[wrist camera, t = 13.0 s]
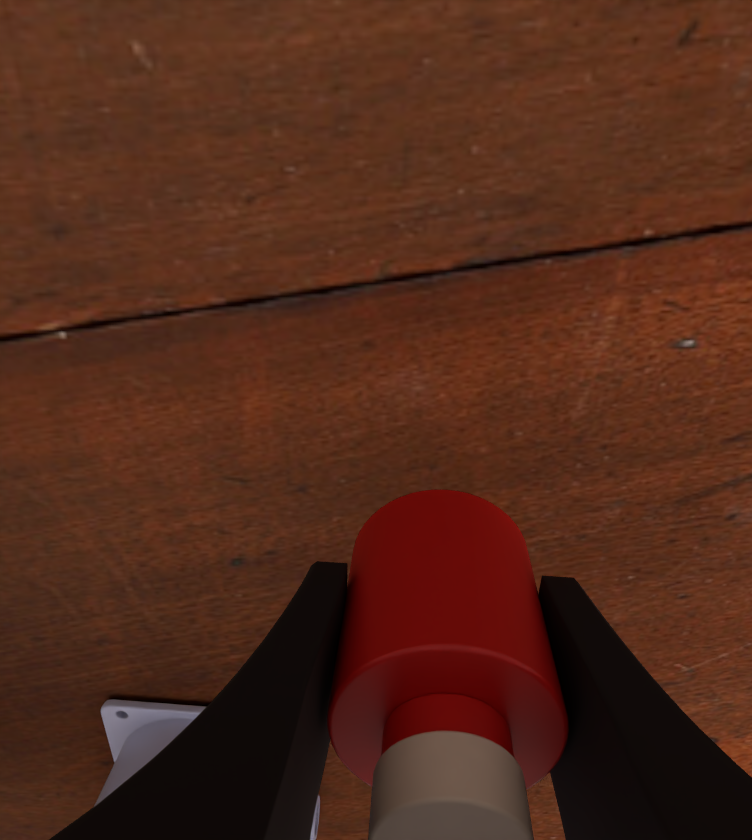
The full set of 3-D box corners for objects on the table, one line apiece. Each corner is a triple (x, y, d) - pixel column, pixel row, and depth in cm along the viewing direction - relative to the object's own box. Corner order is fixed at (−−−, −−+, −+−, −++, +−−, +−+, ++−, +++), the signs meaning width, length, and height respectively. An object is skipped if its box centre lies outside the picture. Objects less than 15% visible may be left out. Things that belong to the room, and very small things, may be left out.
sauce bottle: (539, 493, 12) (626, 772, 7) (515, 631, 14) (572, 938, 9) (353, 482, 13) (303, 746, 7) (352, 619, 14) (311, 915, 9)
